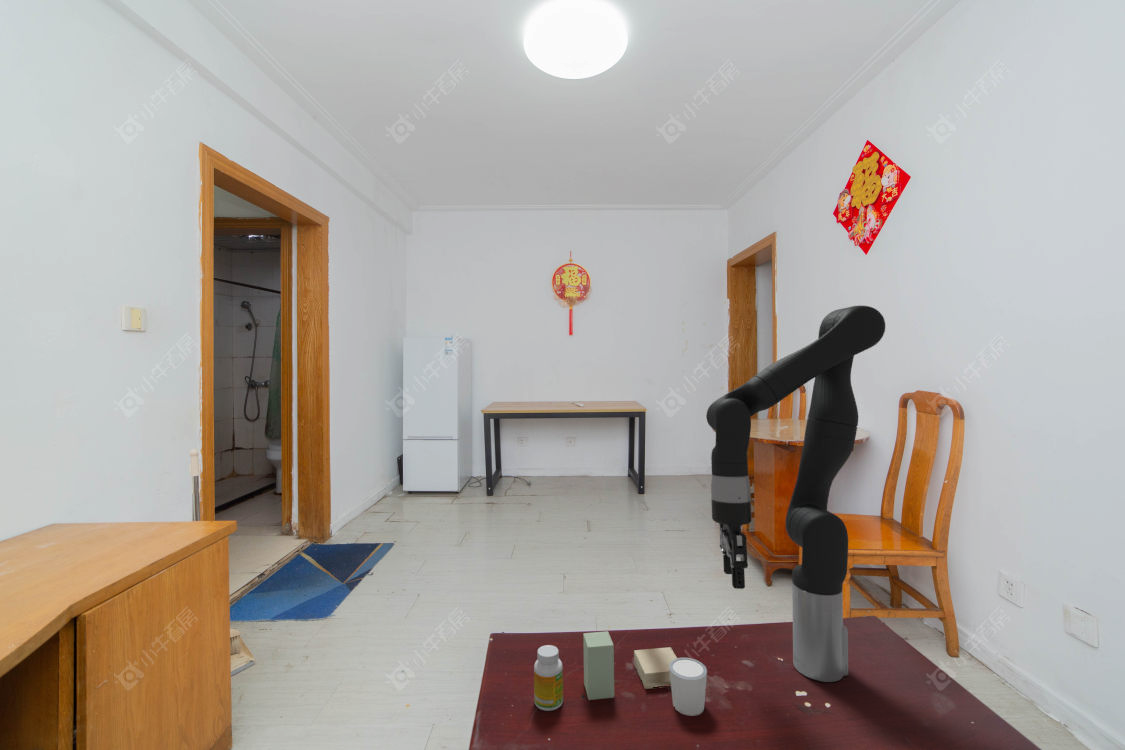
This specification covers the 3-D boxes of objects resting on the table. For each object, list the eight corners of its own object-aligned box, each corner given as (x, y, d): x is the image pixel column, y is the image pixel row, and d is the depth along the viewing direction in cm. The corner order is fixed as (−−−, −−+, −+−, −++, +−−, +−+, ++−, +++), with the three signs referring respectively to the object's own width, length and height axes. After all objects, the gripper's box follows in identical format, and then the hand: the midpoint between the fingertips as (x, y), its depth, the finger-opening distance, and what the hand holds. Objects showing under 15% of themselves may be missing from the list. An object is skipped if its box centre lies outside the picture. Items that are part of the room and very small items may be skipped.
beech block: (670, 661, 104) (670, 647, 104) (684, 685, 96) (684, 669, 96) (634, 664, 103) (633, 650, 103) (645, 688, 95) (645, 673, 95)
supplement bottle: (559, 713, 89) (559, 660, 89) (531, 710, 90) (530, 657, 90) (565, 694, 94) (564, 644, 94) (538, 691, 95) (537, 641, 95)
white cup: (686, 723, 86) (686, 683, 86) (661, 700, 92) (661, 663, 92) (715, 710, 89) (715, 672, 89) (689, 688, 95) (689, 653, 95)
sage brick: (608, 680, 98) (607, 631, 98) (614, 697, 93) (613, 645, 93) (584, 683, 97) (583, 633, 97) (588, 699, 92) (587, 647, 92)
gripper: (759, 504, 91) (763, 594, 90) (742, 492, 105) (745, 569, 104) (717, 504, 92) (720, 592, 91) (706, 491, 106) (708, 568, 105)
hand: (733, 580), depth 97 cm, fingers open, 8 cm apart
